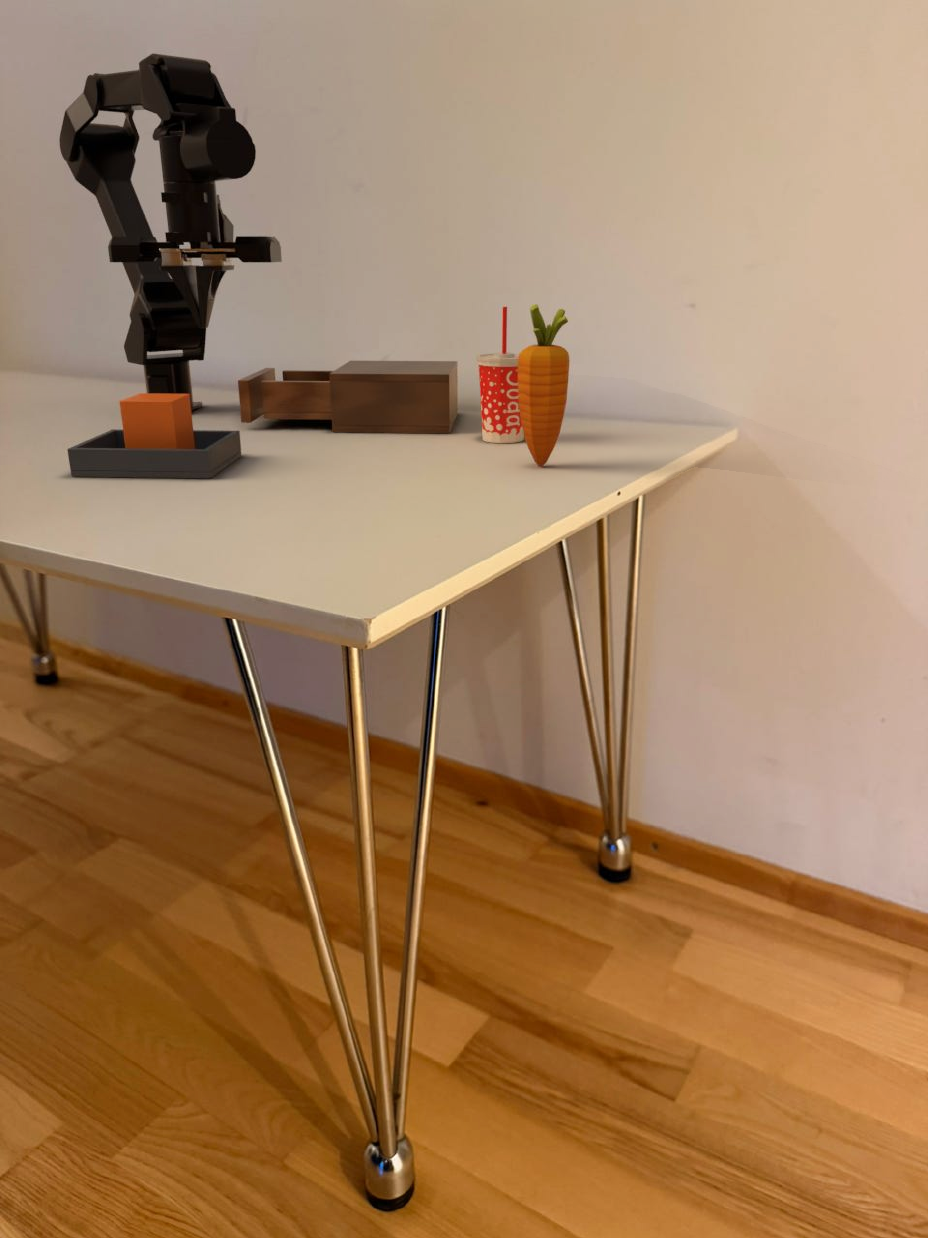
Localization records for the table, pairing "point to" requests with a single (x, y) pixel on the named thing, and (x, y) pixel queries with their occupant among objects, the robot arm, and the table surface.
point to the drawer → (285, 395)
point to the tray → (154, 457)
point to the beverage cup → (500, 394)
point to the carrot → (543, 387)
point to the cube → (157, 421)
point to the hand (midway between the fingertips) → (203, 327)
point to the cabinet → (394, 396)
